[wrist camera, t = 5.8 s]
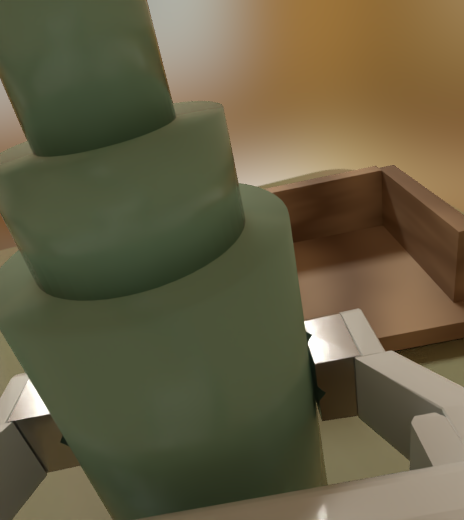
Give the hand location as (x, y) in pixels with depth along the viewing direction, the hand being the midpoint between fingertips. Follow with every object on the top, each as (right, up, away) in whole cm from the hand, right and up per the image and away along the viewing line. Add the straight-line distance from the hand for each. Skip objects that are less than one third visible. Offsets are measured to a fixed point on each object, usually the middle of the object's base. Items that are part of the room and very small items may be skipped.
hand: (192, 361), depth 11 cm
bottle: (+2, -7, +3) cm, 8 cm away
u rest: (+8, +1, +15) cm, 17 cm away
